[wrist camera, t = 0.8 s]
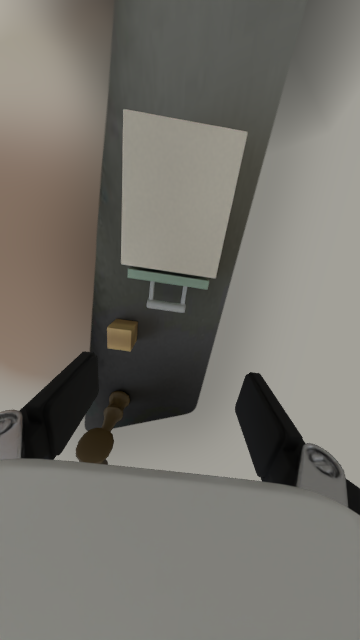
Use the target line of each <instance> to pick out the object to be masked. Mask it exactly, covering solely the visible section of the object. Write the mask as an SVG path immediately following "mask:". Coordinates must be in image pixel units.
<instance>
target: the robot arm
mask: <svg viewBox="0 0 360 640" xmlns="http://www.w3.org/2000/svg"><path fill="white" fill-rule="evenodd" d="M98 391H99V384H98V362H97V356H96V355H95V354H94V353H92V352H82V353H81V354H80V355H79V356H78V357H77V358H76V359H75V360H74V361H73V362H71V363H70V364H69V365H68V366H67V367H66V368H65V369H64V370H63V371H62V372H61V373H60V374H58V375H57V376H56V377H55V378H54V379H53V380H52V381H51V382H50V383H49V384H48V385H47V386H46V387H45V388H44V389H42V390H41V391H40V392H39V393H38V394H37V395H36V396H35V397H34V398H33V399H32V400H31V401H30V402H28V403H27V404H26V405H25V406H24V407H23V408H22V409H21V410H20V411H17V410H6V411H2V412H0V640H360V488H358V487H357V486H355V485H354V484H353V483H351V482H350V481H349V480H347V479H346V478H345V474H344V470H343V469H342V467H341V465H340V464H339V463H338V461H337V460H336V459H335V458H334V457H333V456H332V455H331V454H330V453H329V452H327V451H326V450H324V449H323V448H321V447H319V446H317V445H315V444H310V443H307V444H305V442H304V441H303V439H302V436H301V434H300V433H299V432H298V430H297V428H296V427H295V425H294V424H293V422H292V421H291V419H290V418H289V417H288V415H287V414H286V412H285V410H284V409H283V408H282V406H281V404H280V403H279V402H278V400H277V398H276V397H275V395H274V394H273V392H272V391H271V389H270V388H269V386H268V385H267V383H266V382H265V381H264V379H263V377H262V376H261V375H260V374H259V373H252V372H250V373H249V374H247V375H246V376H245V379H244V382H243V385H242V388H241V391H240V394H239V397H238V400H237V403H236V406H235V412H236V415H237V417H238V420H239V424H240V426H241V429H242V432H243V435H244V438H245V441H246V444H247V447H248V450H249V452H250V456H251V459H252V462H253V464H254V467H255V470H256V473H257V475H258V476H259V477H261V480H262V482H261V481H254V480H245V479H236V478H228V477H218V476H210V475H200V474H191V473H182V472H172V471H163V470H154V469H144V468H135V467H125V466H114V465H104V464H94V463H84V462H73V461H61V460H54V458H55V457H56V455H60V453H61V452H62V451H63V449H64V448H65V446H66V445H67V443H68V441H69V440H70V438H71V437H72V435H73V433H74V432H75V430H76V429H77V427H78V425H79V424H80V422H81V420H82V419H83V417H84V416H85V414H86V413H87V411H88V409H89V408H90V406H91V405H92V403H93V401H94V400H95V398H96V397H97V395H98Z"/></svg>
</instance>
